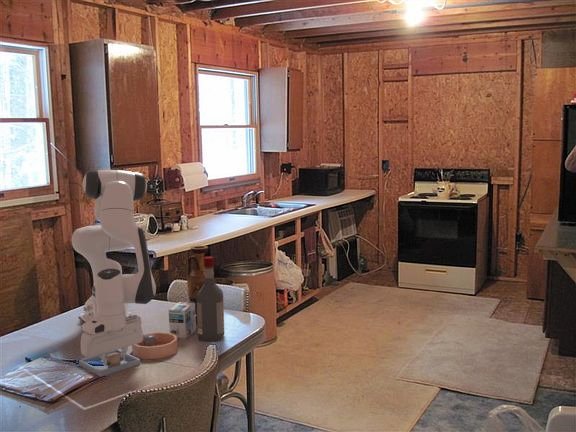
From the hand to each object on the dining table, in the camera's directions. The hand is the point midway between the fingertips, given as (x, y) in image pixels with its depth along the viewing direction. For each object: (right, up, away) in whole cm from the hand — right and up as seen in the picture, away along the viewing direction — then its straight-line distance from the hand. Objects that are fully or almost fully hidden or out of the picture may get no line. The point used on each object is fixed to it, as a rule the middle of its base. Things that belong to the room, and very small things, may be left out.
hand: (114, 362), depth 192 cm
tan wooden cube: (0, -1, 0) cm, 1 cm away
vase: (+21, +5, +48) cm, 53 cm away
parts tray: (-2, -2, +2) cm, 4 cm away
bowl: (+10, 0, +14) cm, 17 cm away
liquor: (+27, +2, +28) cm, 39 cm away
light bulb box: (+16, +3, +33) cm, 37 cm away
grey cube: (+8, +1, +16) cm, 18 cm away
